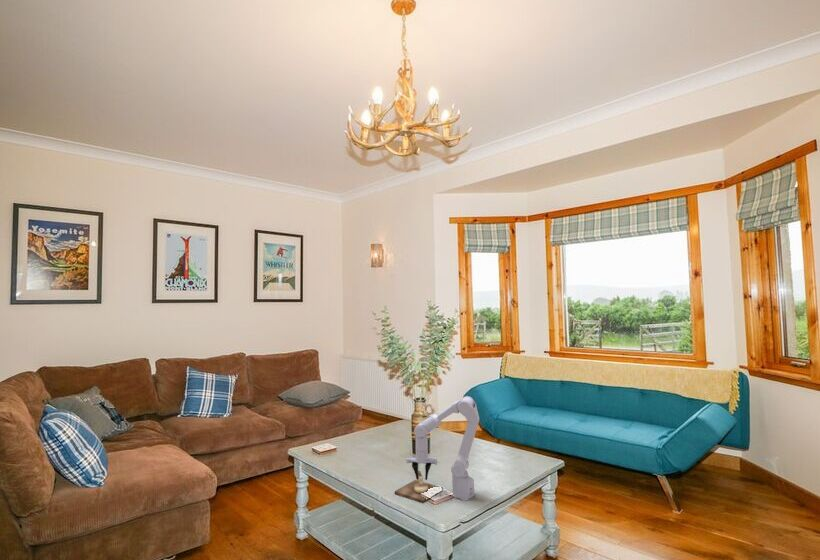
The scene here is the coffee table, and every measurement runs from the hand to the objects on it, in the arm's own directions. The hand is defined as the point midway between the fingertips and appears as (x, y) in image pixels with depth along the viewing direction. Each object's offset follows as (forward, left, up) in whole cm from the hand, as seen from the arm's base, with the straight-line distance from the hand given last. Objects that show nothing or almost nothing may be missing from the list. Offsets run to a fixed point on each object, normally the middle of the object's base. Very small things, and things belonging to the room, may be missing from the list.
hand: (421, 478), depth 210 cm
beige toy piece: (-1, +3, -4) cm, 4 cm away
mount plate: (0, +3, -5) cm, 6 cm away
